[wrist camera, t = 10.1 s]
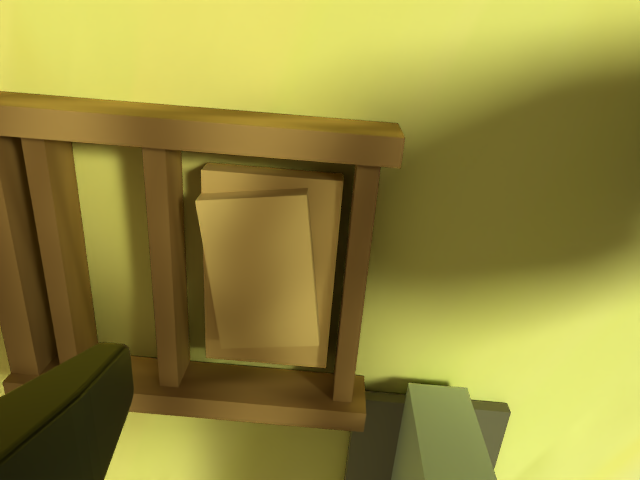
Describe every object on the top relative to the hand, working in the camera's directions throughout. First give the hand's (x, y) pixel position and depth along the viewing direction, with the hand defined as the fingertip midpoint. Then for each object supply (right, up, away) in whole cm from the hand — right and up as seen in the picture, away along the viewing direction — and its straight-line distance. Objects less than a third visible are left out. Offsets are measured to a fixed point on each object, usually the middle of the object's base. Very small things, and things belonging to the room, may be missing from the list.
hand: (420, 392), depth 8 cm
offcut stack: (-3, +1, +13) cm, 14 cm away
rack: (-7, +1, +13) cm, 15 cm away
